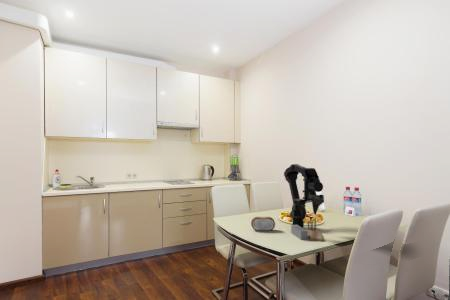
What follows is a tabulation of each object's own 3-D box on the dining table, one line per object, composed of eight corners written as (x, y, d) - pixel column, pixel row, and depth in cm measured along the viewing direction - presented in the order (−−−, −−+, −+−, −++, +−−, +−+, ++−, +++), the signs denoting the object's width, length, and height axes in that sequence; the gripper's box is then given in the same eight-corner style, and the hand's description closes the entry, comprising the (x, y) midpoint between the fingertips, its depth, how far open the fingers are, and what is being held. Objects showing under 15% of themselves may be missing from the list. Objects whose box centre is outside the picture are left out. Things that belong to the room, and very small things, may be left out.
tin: (274, 229, 161) (274, 216, 161) (275, 231, 158) (275, 217, 158) (250, 229, 161) (251, 216, 161) (251, 231, 158) (251, 217, 158)
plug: (301, 240, 143) (301, 231, 143) (291, 233, 155) (291, 224, 155) (307, 239, 144) (307, 230, 144) (297, 232, 156) (297, 224, 156)
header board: (310, 240, 142) (310, 229, 142) (305, 229, 161) (305, 220, 161) (323, 241, 141) (323, 230, 141) (317, 230, 159) (317, 220, 159)
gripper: (306, 192, 140) (306, 220, 140) (331, 190, 148) (331, 216, 148) (293, 189, 150) (293, 215, 150) (317, 187, 158) (317, 212, 158)
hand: (309, 215), depth 151 cm, fingers open, 9 cm apart
